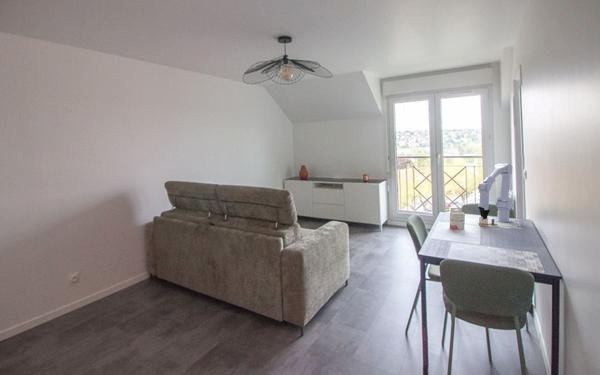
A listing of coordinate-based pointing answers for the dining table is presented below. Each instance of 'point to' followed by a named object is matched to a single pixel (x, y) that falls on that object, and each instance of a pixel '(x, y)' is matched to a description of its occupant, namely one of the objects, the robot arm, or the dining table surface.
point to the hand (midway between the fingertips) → (483, 217)
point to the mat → (503, 224)
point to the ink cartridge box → (457, 218)
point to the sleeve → (483, 221)
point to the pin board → (489, 224)
